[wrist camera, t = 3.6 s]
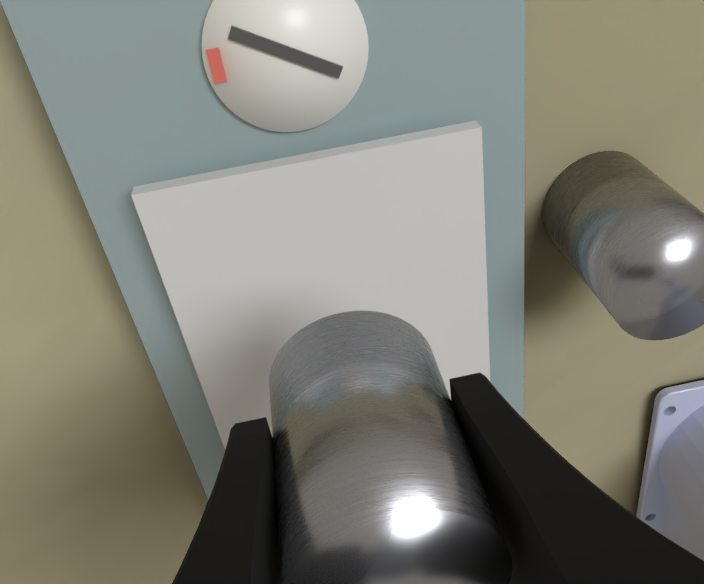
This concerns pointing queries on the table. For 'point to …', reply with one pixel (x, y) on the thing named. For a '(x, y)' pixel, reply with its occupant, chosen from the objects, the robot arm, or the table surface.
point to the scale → (293, 179)
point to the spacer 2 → (631, 243)
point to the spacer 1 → (375, 462)
